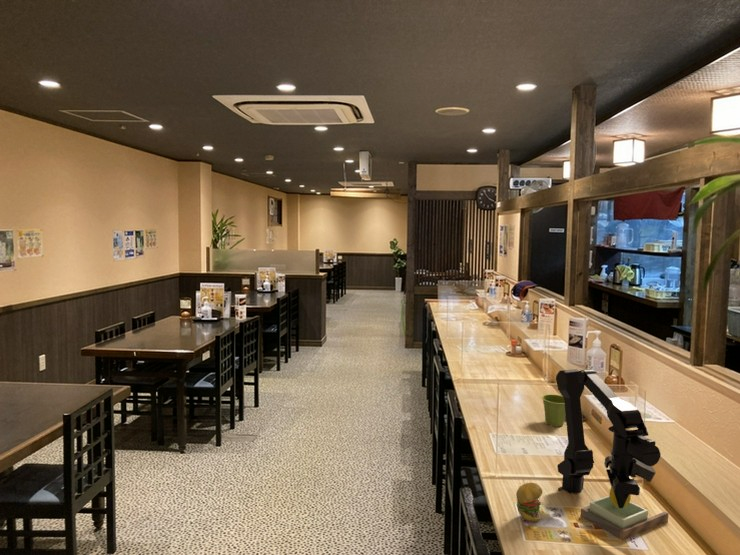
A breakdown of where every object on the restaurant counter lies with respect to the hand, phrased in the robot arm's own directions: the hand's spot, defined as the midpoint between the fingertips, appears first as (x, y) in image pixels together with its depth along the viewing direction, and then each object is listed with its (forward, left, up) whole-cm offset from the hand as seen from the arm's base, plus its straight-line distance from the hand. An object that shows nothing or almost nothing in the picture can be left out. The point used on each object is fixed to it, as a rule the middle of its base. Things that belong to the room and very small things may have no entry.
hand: (618, 503), depth 161 cm
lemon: (0, 0, -2) cm, 2 cm away
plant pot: (+48, +64, -7) cm, 81 cm away
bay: (+3, 0, -7) cm, 7 cm away
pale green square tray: (0, 0, -5) cm, 5 cm away
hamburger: (-21, +14, -7) cm, 26 cm away
